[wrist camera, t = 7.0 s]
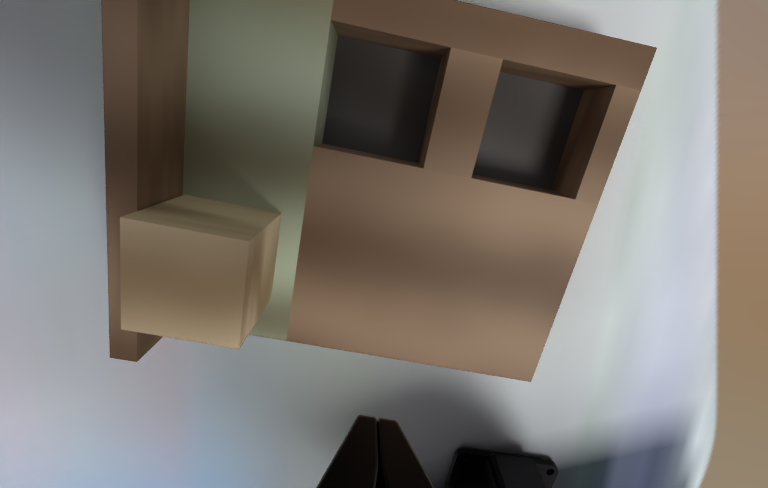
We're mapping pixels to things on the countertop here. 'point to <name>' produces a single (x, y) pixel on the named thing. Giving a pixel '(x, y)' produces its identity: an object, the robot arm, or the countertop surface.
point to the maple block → (197, 269)
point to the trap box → (375, 161)
